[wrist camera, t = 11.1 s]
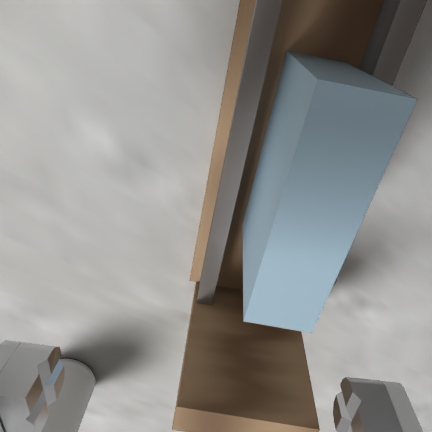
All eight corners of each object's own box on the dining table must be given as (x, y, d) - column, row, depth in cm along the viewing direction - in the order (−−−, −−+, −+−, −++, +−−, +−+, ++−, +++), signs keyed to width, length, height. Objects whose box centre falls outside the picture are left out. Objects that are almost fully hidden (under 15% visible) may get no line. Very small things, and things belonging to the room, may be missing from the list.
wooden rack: (454, -102, 15) (748, -253, 6) (292, 310, 27) (316, 452, 18) (266, -144, 15) (303, -363, 6) (187, 292, 27) (162, 428, 18)
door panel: (366, 67, 17) (450, 105, 10) (305, 235, 22) (333, 336, 16) (286, 50, 17) (317, 79, 10) (242, 224, 22) (243, 321, 15)
